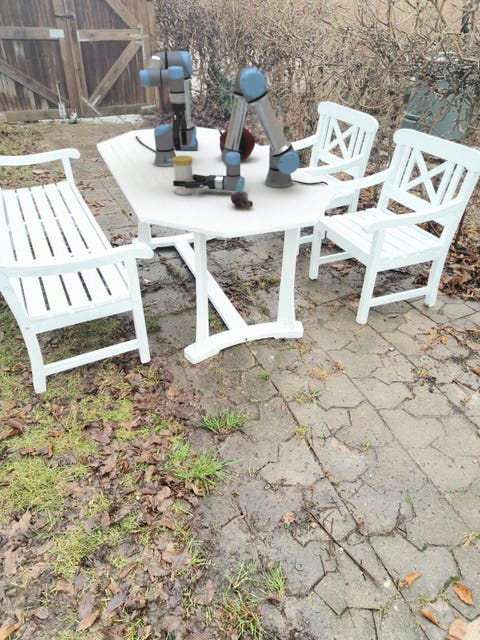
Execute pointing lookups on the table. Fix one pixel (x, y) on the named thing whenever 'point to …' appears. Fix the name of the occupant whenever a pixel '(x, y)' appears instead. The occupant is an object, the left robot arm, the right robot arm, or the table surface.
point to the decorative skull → (245, 143)
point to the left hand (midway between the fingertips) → (181, 147)
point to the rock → (241, 200)
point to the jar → (183, 178)
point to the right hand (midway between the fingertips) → (176, 180)
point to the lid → (182, 160)
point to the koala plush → (191, 147)
